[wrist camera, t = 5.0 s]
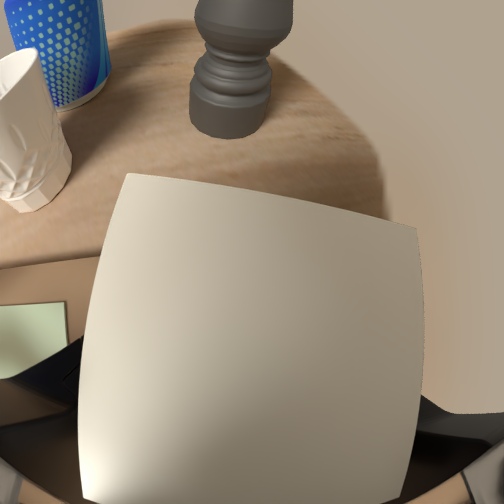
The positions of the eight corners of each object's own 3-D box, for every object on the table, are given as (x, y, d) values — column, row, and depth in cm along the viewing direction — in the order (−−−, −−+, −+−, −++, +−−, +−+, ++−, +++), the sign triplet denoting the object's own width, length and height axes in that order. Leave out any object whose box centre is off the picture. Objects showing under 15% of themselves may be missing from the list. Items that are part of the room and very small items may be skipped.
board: (316, 425, 14) (368, 454, 9) (8, 437, 9) (-40, 453, 4) (281, 244, 18) (317, 197, 12) (-11, 278, 13) (-61, 251, 7)
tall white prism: (262, 413, 13) (390, 520, 2) (166, 403, 12) (88, 523, 2) (272, 302, 15) (410, 200, 5) (180, 289, 14) (139, 143, 4)
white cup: (28, 240, 14) (-56, 163, 5) (-6, 190, 15) (-64, 120, 6) (97, 162, 17) (57, 53, 8) (52, 127, 18) (18, 43, 8)
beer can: (34, 129, 17) (-18, -4, 2) (48, 83, 20) (20, -27, 5) (112, 100, 20) (91, -56, 5) (114, 60, 22) (105, -60, 7)
